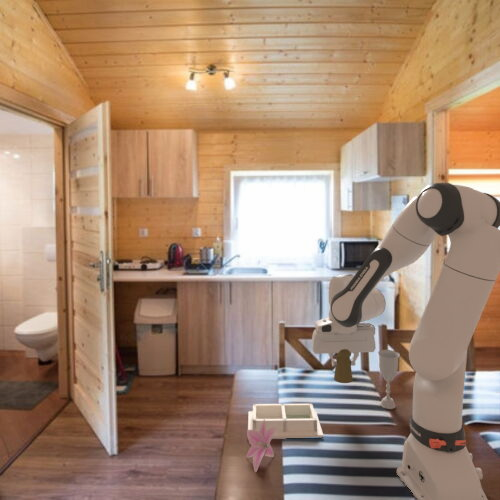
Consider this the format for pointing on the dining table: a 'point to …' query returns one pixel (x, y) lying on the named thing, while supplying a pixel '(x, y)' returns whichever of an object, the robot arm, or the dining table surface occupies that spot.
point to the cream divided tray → (286, 420)
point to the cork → (343, 367)
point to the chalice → (388, 373)
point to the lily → (260, 444)
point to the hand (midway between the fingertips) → (343, 365)
